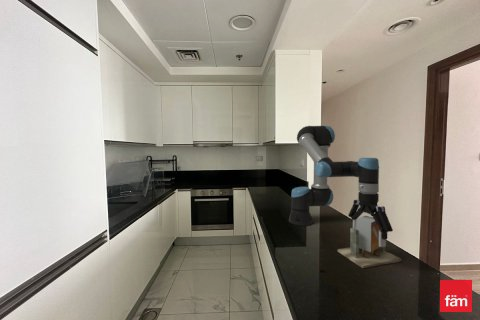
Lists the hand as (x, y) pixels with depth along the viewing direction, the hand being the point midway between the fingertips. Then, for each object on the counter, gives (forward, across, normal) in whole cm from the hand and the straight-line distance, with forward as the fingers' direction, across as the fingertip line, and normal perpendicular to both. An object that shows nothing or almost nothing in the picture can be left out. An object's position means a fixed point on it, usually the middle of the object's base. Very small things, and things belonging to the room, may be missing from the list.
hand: (368, 239), depth 87 cm
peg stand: (+8, 0, 0) cm, 8 cm away
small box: (+4, 0, 0) cm, 4 cm away
